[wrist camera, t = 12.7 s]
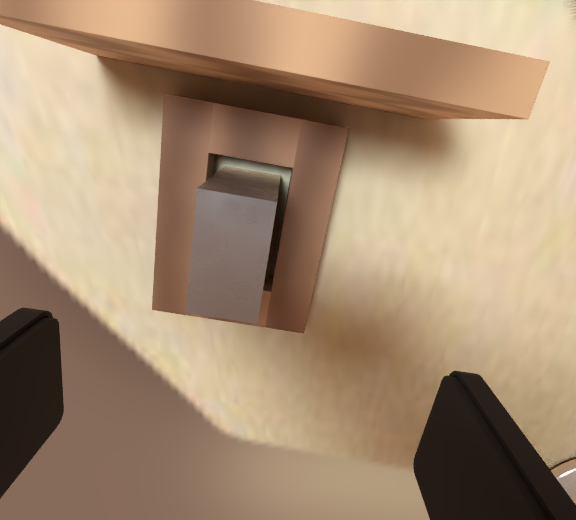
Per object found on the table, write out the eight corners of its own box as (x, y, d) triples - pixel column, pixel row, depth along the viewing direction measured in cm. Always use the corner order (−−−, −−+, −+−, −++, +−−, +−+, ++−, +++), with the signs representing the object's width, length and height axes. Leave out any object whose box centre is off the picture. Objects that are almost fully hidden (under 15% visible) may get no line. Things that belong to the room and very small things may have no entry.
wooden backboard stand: (432, 86, 25) (550, 61, 14) (364, 326, 31) (406, 442, 20) (96, 19, 24) (-78, -68, 12) (96, 284, 30) (-18, 383, 19)
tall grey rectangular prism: (280, 175, 27) (277, 201, 19) (266, 265, 30) (257, 323, 21) (225, 166, 27) (196, 188, 19) (215, 257, 29) (185, 313, 21)
